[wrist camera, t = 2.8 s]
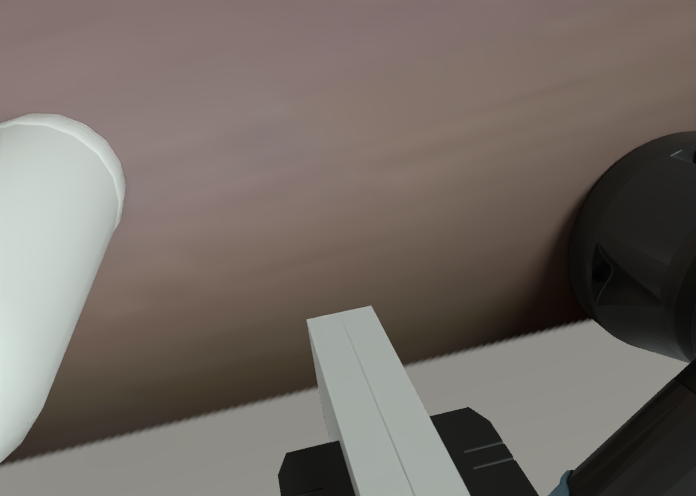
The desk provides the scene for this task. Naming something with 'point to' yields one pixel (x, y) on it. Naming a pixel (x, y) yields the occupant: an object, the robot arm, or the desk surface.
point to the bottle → (47, 252)
